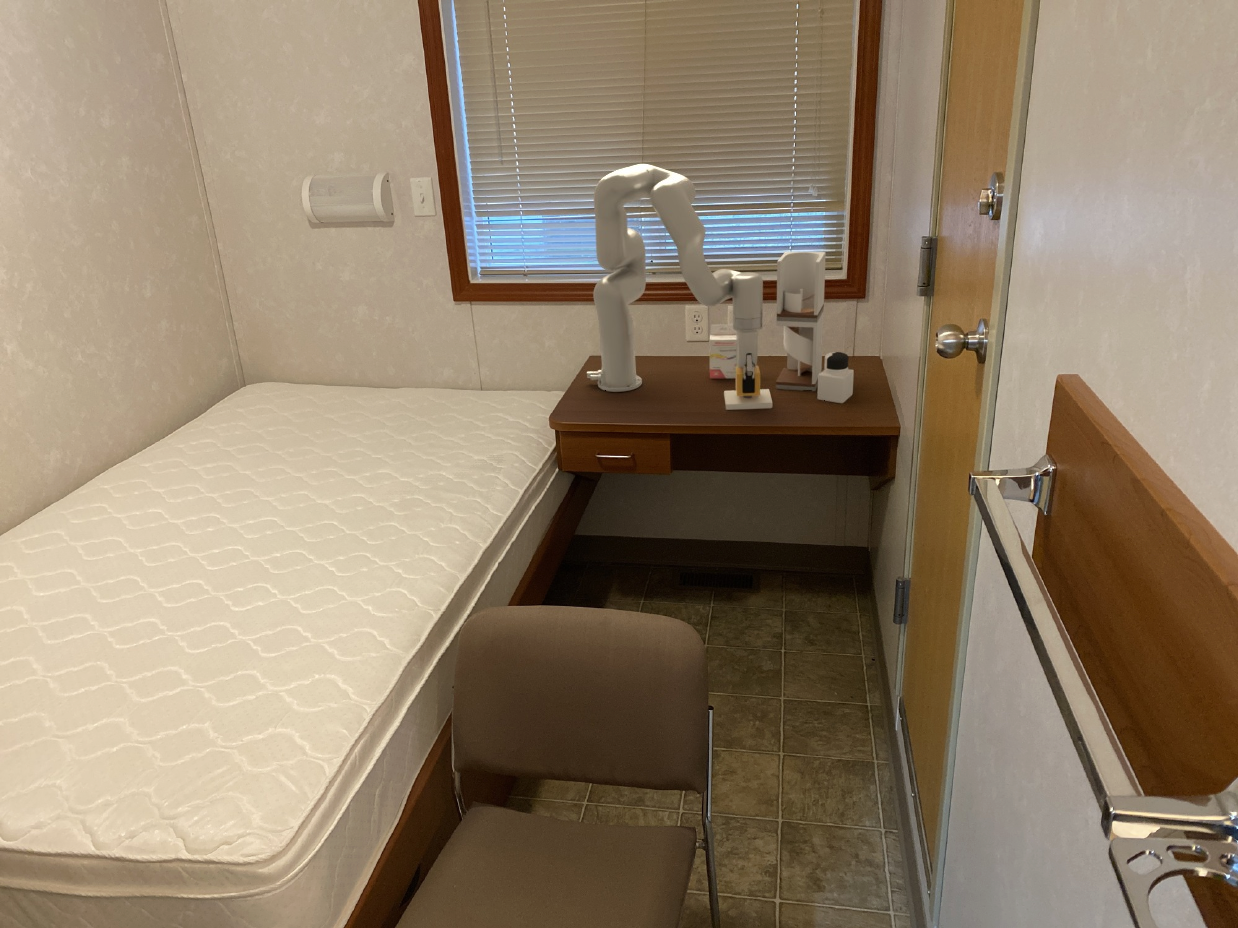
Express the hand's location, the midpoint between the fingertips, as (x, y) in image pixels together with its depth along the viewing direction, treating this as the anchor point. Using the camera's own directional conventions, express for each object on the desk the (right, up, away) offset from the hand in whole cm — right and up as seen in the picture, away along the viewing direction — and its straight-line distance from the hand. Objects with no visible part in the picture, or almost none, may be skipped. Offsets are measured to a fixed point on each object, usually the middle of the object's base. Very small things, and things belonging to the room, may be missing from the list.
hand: (747, 387), depth 240 cm
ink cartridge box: (-4, +5, +21) cm, 22 cm away
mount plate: (0, -4, +2) cm, 4 cm away
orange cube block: (0, -1, 0) cm, 1 cm away
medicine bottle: (+23, -3, +1) cm, 23 cm away
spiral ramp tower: (+16, +2, +12) cm, 20 cm away
